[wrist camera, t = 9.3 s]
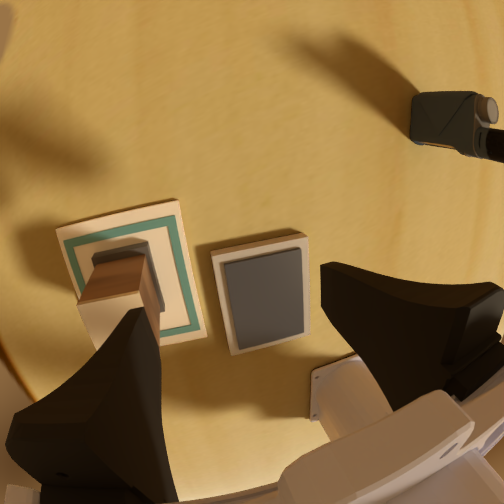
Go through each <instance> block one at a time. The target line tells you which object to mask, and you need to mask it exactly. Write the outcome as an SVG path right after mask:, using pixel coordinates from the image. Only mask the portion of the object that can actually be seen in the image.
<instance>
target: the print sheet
mask: <svg viewBox="0 0 504 504" xmlns="http://www.w3.org/2000/svg"><path fill="white" fill-rule="evenodd" d="M55 230H56V234H57V237H58V241H59V244H60V247H61V250H62V254H63V257H64V260H65V263H66V266H67V269H68V272H69V274H70V277H71V280H72V283H73V285H74V288H75V291H76V293H77V296H78V299H80V296H81V294H82V292H83V290H84V288H85V286H86V284H87V282H88V280H89V278H90V276H91V274H92V272H93V270H94V266H93V263H92V260H91V258H92V256H93V254H94V253H97V252H101V251H105V250H110V249H114V248H119V247H123V246H128V245H132V244H137V243H142V242H146V241H148V242H149V246H150V250H151V254H152V258H153V262H154V266H155V270H156V274H157V278H158V281H159V285H160V289H161V292H162V296H163V299H164V303H165V312H161V313H160V346H165V345H170V344H175V343H180V342H185V341H190V340H195V339H200V338H204V337H208V336H207V332H206V328H205V324H204V320H203V316H202V312H201V307H200V303H199V299H198V294H197V290H196V285H195V281H194V276H193V272H192V267H191V262H190V258H189V253H188V248H187V243H186V238H185V233H184V227H183V222H182V217H181V211H180V206H179V200H175V201H170V202H165V203H160V204H155V205H150V206H146V207H141V208H137V209H132V210H128V211H123V212H119V213H115V214H111V215H106V216H102V217H98V218H94V219H90V220H86V221H82V222H79V223H75V224H71V225H67V226H63V227H60V228H57V229H55Z"/></svg>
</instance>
